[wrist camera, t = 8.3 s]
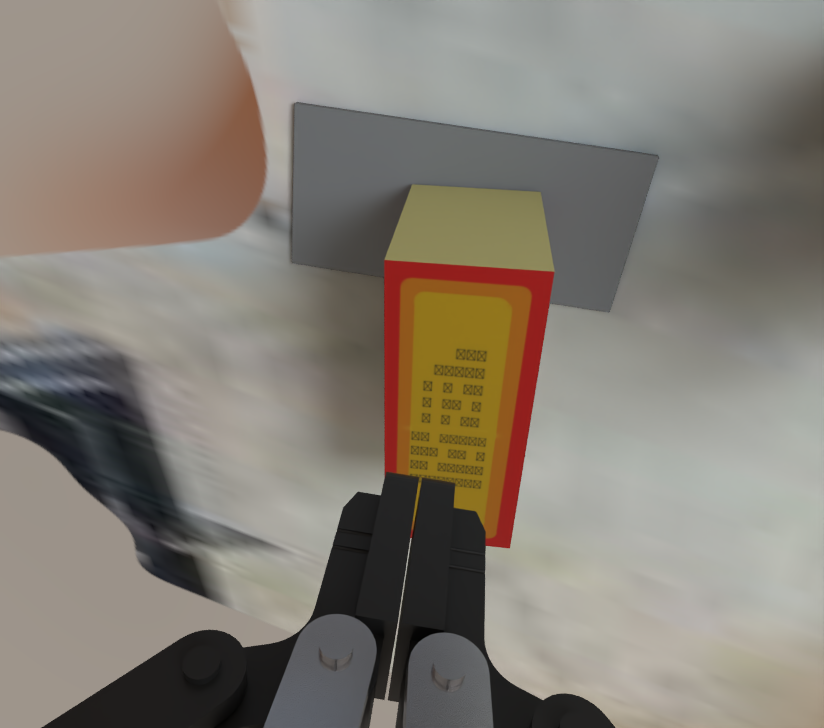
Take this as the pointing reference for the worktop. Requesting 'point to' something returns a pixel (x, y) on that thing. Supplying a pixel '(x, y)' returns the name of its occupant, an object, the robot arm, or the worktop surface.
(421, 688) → the robot arm
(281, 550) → the worktop surface
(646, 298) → the worktop surface
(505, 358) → the baking soda box
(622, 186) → the mat
